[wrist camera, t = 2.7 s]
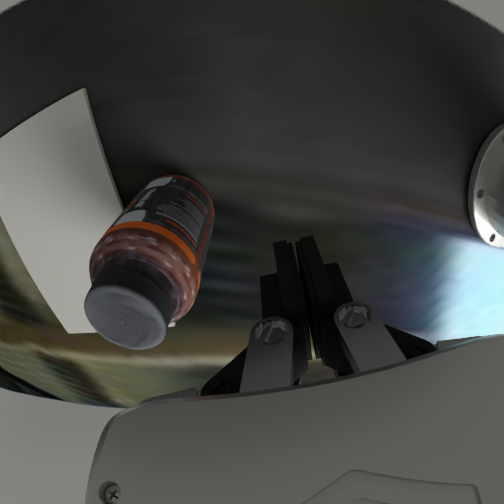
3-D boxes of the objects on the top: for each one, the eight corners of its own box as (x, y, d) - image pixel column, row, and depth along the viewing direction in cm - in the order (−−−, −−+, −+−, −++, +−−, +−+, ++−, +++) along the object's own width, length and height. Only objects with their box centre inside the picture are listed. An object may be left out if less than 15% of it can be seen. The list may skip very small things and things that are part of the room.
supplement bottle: (143, 163, 19) (57, 248, 10) (224, 182, 20) (200, 287, 11) (134, 235, 22) (72, 343, 13) (206, 253, 23) (180, 375, 14)
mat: (85, 87, 16) (82, 88, 16) (175, 323, 28) (174, 326, 27) (-20, 154, 18) (-22, 155, 17) (69, 331, 29) (68, 333, 29)
